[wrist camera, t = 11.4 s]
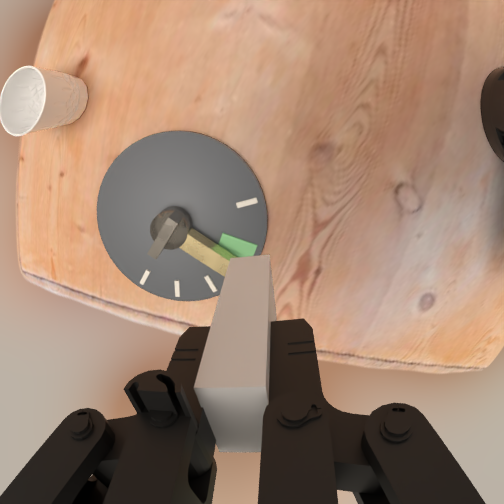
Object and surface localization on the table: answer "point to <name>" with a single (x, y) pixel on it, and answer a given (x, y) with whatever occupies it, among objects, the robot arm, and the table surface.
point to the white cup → (40, 100)
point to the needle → (186, 239)
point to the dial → (187, 197)
